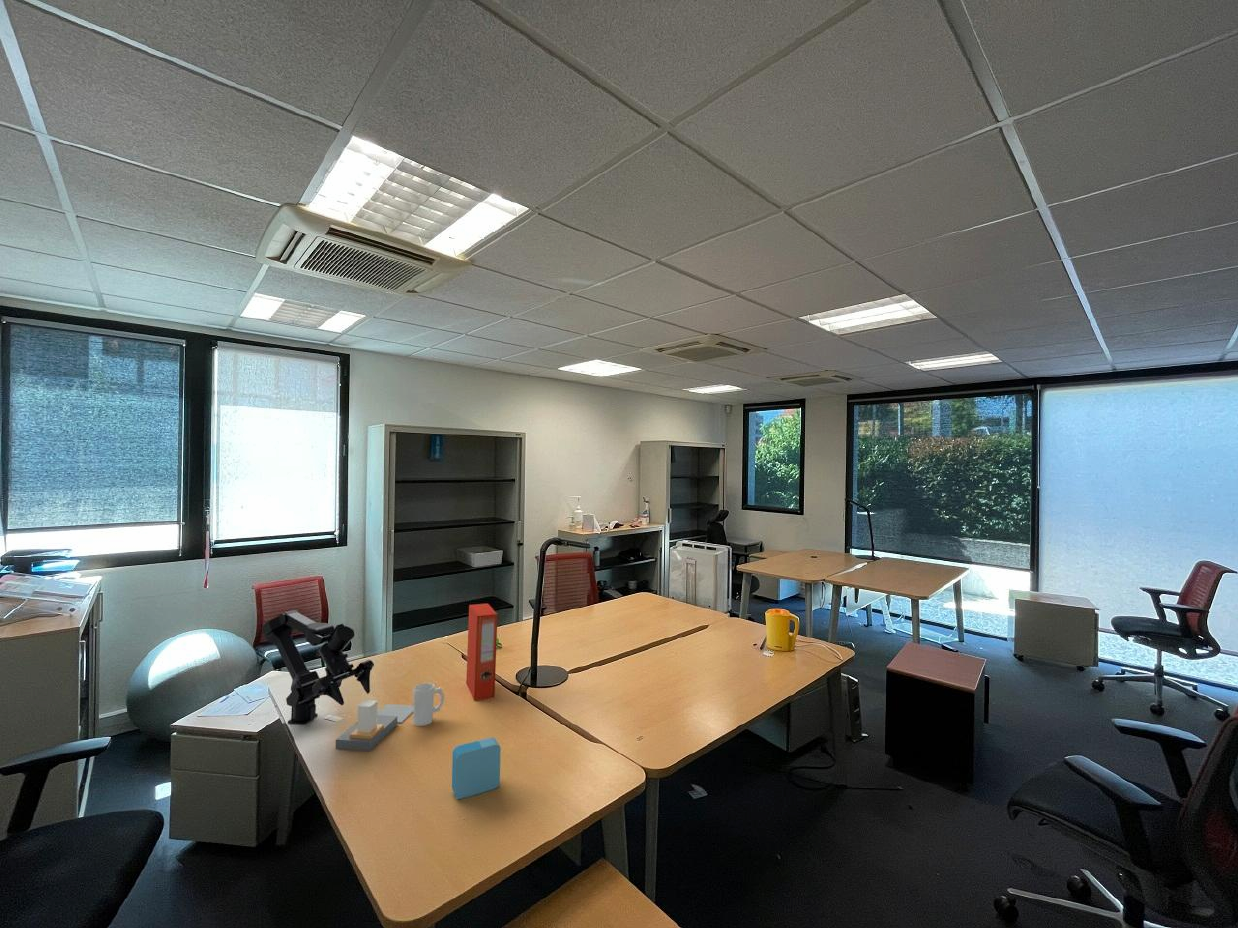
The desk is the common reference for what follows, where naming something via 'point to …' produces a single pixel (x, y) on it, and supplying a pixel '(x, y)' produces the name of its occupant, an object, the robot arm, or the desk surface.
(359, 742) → the gray slab with hole
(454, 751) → the data package
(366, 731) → the white and tan block
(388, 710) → the mat
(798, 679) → the desk surface
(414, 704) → the mug
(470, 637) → the file binder
